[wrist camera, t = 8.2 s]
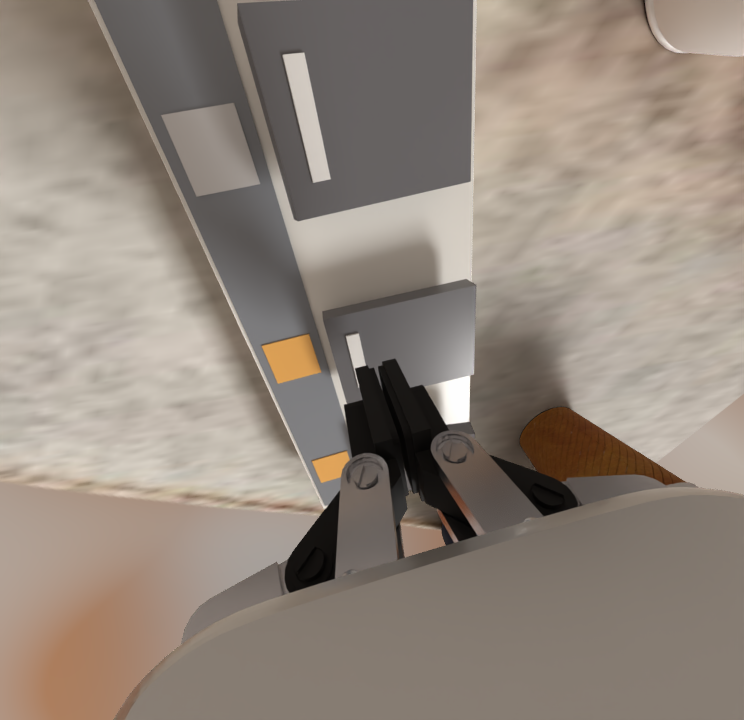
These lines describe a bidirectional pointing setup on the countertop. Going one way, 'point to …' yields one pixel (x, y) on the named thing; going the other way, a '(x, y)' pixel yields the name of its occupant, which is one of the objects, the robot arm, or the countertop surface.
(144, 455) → the countertop surface
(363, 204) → the plate
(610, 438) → the disposable coffee cup
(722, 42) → the white bottle
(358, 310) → the rocker middle
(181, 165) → the switch unit
